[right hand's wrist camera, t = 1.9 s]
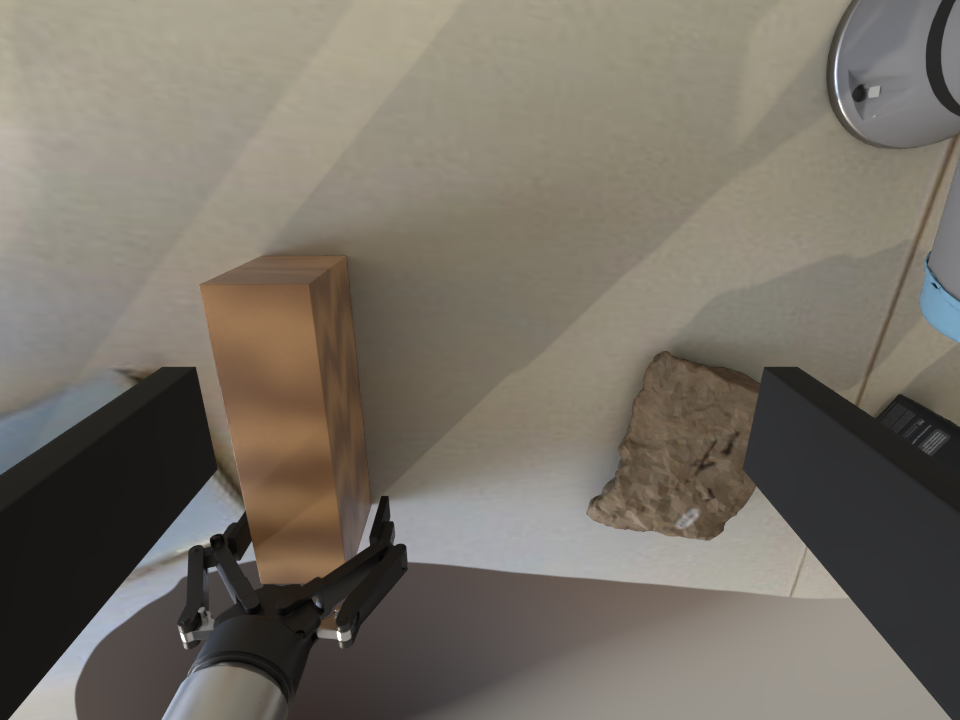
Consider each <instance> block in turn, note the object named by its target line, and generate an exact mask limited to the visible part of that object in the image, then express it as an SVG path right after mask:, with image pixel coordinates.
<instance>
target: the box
mask: <svg viewBox="0 0 960 720" xmlns="http://www.w3.org/2000/svg"><path fill="white" fill-rule="evenodd" d="M199 287H200V292H201V297H202V302H203V307H204V311H205V316H206V321H207V326H208V331H209V335H210V340H211V345H212V350H213V355H214V359H215V364H216V369H217V374H218V379H219V384H220V388H221V393H222V398H223V403H224V408H225V412H226V417H227V422H228V427H229V432H230V436H231V441H232V446H233V451H234V456H235V461H236V465H237V470H238V475H239V480H240V485H241V489H242V494H243V499H244V504H245V509H246V513H247V518H248V523H249V528H250V533H251V538H252V542H253V547H254V552H255V557H256V562H257V566H258V571H259V576H260V581H261V584H273V583H274V584H275V583H308V582H310V581H311V580H313V579H314V578H316V577H321V578H323V577H325V576H326V575H328V574H329V573H331V572H332V571H333V570H335V569H336V568H338V567H339V566H341V565H342V564H344V563H345V562H347V561H348V560H350V559H351V558H353V557H354V556H356V554H357V551H358V548H359V544H360V541H361V538H362V535H363V531H364V528H365V525H366V522H367V518H368V515H369V512H370V508H371V505H372V504H371V494H370V485H369V475H368V465H367V455H366V445H365V435H364V426H363V416H362V406H361V396H360V386H359V376H358V367H357V357H356V347H355V337H354V327H353V317H352V307H351V298H350V288H349V278H348V268H347V258H346V256H260V257H258V258H256V259H254V260H252V261H250V262H247V263H245V264H243V265H241V266H239V267H237V268H235V269H232V270H230V271H228V272H226V273H224V274H222V275H220V276H217V277H215V278H213V279H211V280H209V281H207V282H205V283H202V284H200V285H199Z"/></svg>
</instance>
